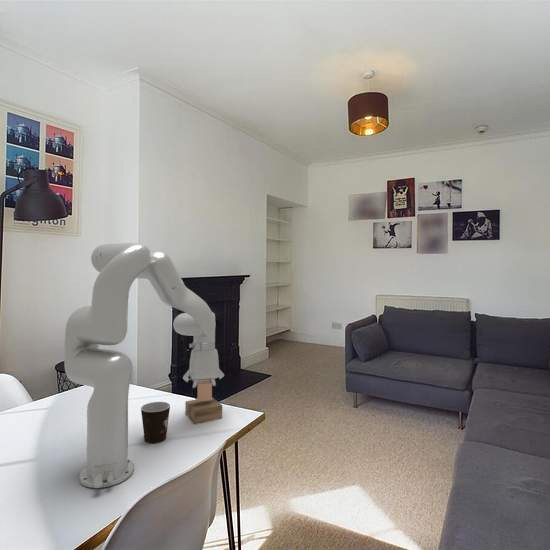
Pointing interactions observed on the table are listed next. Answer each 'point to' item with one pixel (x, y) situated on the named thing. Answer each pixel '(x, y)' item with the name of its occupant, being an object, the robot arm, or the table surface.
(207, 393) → the terracotta cube
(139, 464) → the table surface
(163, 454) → the table surface
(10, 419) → the table surface
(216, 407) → the walnut box
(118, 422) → the robot arm
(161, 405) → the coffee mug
